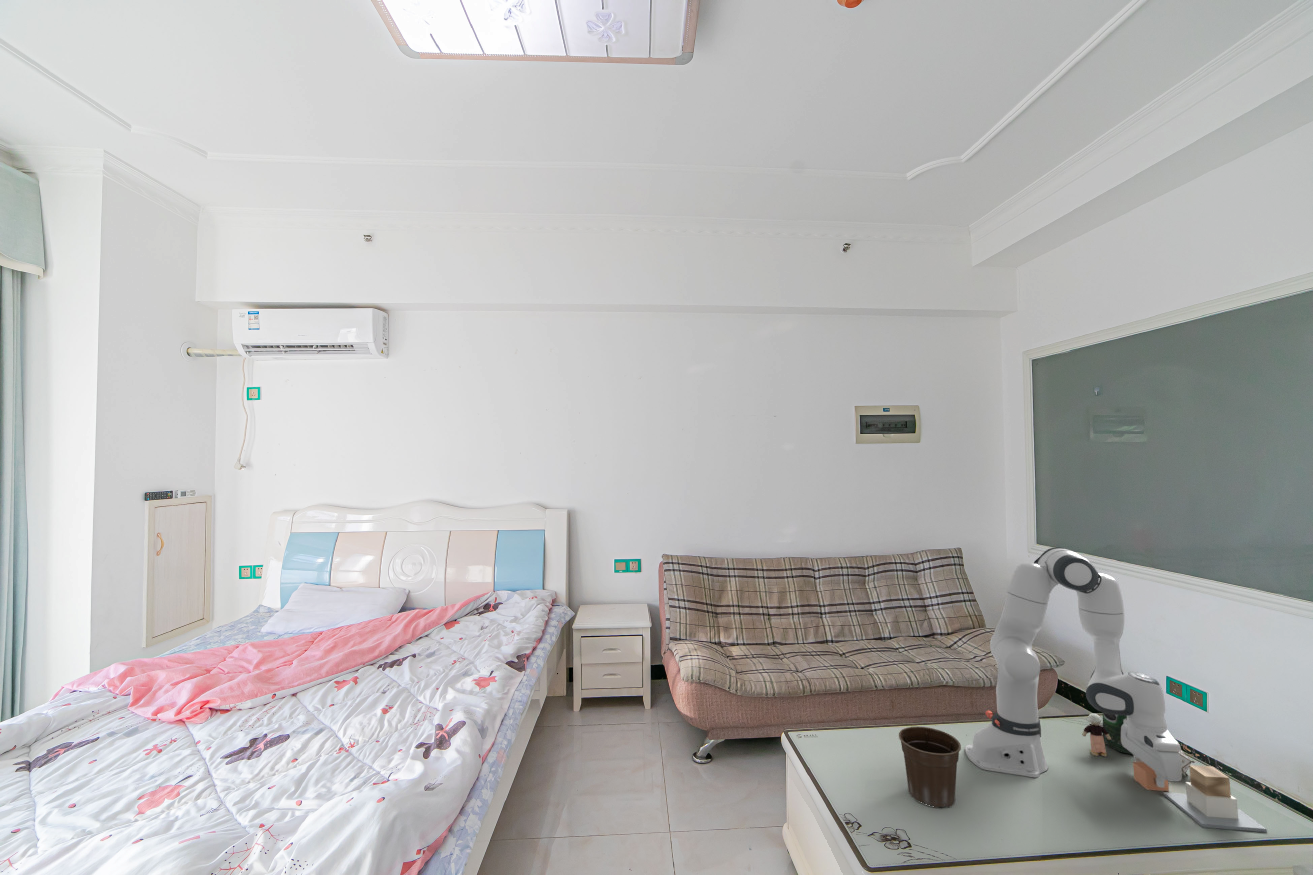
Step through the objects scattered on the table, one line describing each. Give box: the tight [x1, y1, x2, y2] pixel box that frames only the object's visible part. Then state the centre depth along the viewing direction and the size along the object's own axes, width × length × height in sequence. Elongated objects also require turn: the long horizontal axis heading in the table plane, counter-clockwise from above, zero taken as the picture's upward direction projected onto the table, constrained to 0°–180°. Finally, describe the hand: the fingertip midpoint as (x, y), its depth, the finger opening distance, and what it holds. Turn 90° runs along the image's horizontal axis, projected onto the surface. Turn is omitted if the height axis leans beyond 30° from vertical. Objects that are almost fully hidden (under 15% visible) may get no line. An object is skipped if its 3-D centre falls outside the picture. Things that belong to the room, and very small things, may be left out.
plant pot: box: [898, 726, 962, 809], centre depth 159 cm, size 16×16×16 cm
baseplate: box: [1162, 781, 1268, 833], centre depth 148 cm, size 14×14×6 cm
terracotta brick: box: [1132, 761, 1170, 792], centre depth 161 cm, size 6×6×5 cm
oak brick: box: [1188, 764, 1231, 797], centre depth 148 cm, size 6×6×5 cm
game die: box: [1178, 749, 1196, 777], centre depth 167 cm, size 9×8×10 cm
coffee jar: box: [1102, 713, 1133, 755], centre depth 182 cm, size 10×8×19 cm
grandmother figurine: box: [1081, 712, 1111, 757], centre depth 178 cm, size 8×4×13 cm, turn 84°
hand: (1150, 778), depth 161 cm, fingers closed on terracotta brick, 5 cm apart
